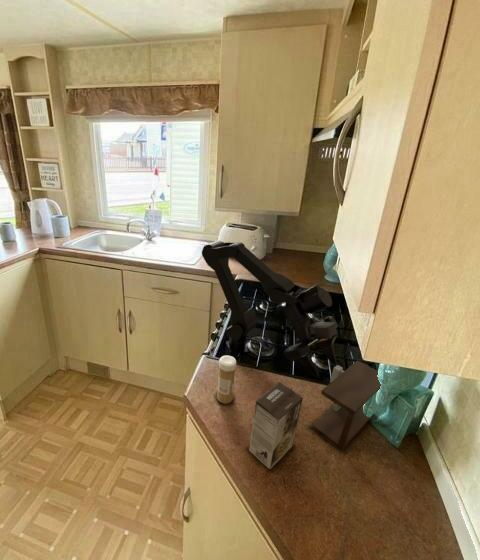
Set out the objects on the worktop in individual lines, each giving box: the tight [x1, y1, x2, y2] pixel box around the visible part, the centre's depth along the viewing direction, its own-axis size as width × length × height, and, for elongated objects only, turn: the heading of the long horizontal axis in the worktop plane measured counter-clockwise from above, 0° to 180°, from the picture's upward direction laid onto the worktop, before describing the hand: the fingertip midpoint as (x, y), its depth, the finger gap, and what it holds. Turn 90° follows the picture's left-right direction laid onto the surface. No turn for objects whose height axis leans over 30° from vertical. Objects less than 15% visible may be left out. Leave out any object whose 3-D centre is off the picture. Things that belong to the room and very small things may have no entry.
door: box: [329, 364, 345, 411], centre depth 85 cm, size 5×8×10 cm, turn 129°
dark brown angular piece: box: [311, 360, 381, 451], centre depth 80 cm, size 8×18×13 cm, turn 129°
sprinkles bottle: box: [216, 355, 237, 404], centre depth 86 cm, size 5×5×13 cm
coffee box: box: [248, 381, 304, 470], centre depth 71 cm, size 9×6×16 cm
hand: (326, 370), depth 87 cm, fingers open, 9 cm apart
